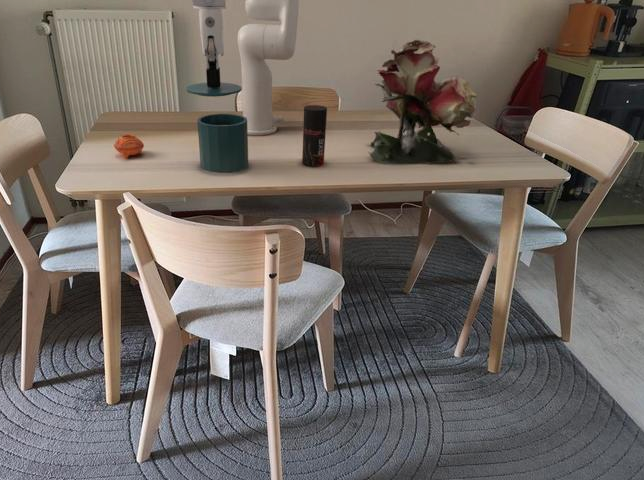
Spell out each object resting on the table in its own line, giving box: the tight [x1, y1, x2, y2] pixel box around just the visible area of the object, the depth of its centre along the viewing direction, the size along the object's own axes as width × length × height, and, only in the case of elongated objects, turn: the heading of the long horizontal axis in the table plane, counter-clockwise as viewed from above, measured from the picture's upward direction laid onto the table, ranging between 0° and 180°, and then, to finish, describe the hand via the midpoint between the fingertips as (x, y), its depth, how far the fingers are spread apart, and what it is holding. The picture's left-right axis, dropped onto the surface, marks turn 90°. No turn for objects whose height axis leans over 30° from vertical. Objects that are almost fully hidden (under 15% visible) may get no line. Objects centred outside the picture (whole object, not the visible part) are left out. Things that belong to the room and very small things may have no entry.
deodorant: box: [301, 104, 328, 168], centre depth 133 cm, size 6×6×15 cm
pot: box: [113, 133, 145, 160], centre depth 137 cm, size 8×8×7 cm
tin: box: [196, 113, 249, 174], centre depth 130 cm, size 13×13×12 cm
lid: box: [185, 82, 242, 98], centre depth 122 cm, size 14×14×6 cm
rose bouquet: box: [367, 38, 478, 165], centre depth 141 cm, size 26×29×30 cm
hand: (213, 85), depth 122 cm, fingers closed on lid, 2 cm apart
